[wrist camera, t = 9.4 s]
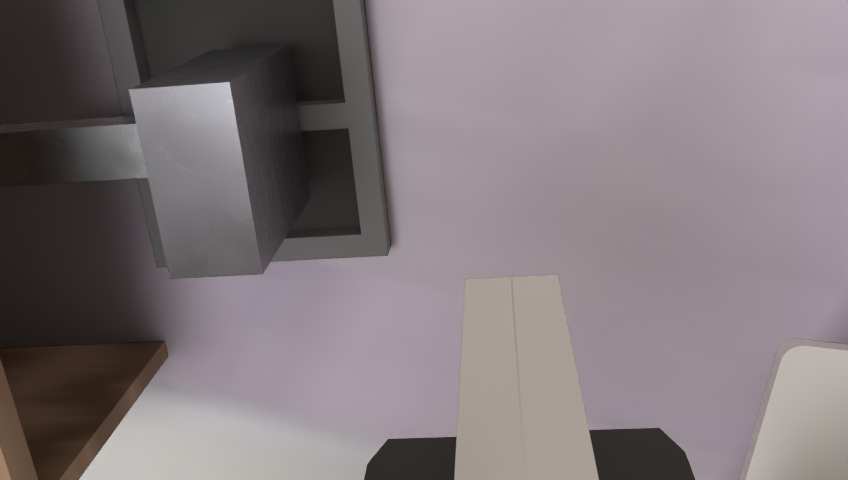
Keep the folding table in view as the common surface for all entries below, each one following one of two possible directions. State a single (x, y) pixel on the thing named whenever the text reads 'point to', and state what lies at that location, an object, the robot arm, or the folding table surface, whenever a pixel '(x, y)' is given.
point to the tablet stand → (802, 416)
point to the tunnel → (67, 403)
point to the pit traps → (316, 96)
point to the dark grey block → (191, 157)
